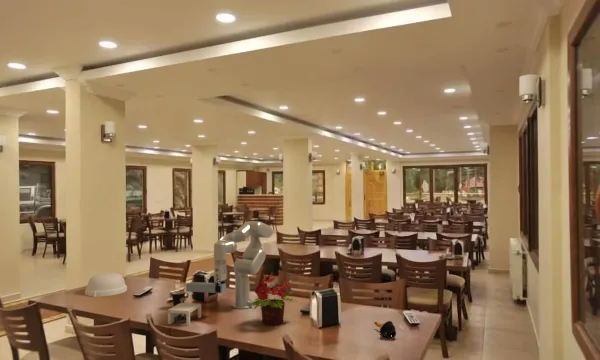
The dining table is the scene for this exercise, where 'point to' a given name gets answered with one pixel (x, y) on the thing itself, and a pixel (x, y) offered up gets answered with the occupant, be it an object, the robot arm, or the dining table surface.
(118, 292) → the dome cover
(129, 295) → the dining table surface
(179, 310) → the low shelf
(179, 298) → the coffee mug
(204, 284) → the grey rectangular block
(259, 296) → the potted plant
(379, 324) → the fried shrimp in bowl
